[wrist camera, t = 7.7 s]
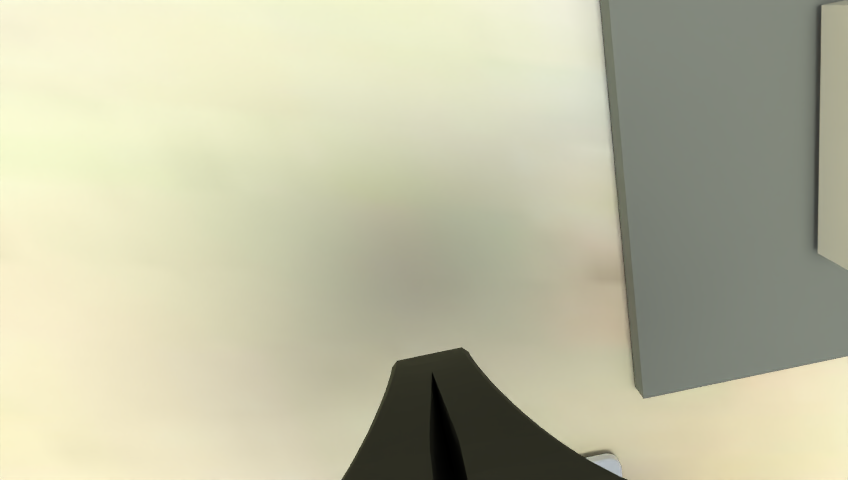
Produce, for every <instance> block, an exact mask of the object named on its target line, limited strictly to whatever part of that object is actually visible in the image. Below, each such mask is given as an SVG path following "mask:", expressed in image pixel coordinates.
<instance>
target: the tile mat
mask: <svg viewBox="0 0 848 480" xmlns="http://www.w3.org/2000/svg"><path fill="white" fill-rule="evenodd" d="M839 1H844V0H600V7H601V18H602V29H603V40H604V51H605V62H606V73H607V83H608V94H609V105H610V116H611V127H612V138H613V148H614V159H615V170H616V181H617V192H618V203H619V214H620V224H621V235H622V246H623V257H624V268H625V279H626V290H627V300H628V311H629V322H630V333H631V344H632V355H633V365H634V376H635V387H636V388H637V390H638V391H639V393H640V394H641V395H642V397H643V398H649V397H654V396H659V395H664V394H668V393H673V392H678V391H683V390H688V389H692V388H697V387H702V386H707V385H712V384H716V383H721V382H726V381H731V380H736V379H740V378H745V377H750V376H755V375H760V374H764V373H769V372H774V371H779V370H784V369H788V368H793V367H798V366H803V365H807V364H812V363H817V362H822V361H827V360H831V359H836V358H841V357H846V356H848V270H847V269H845V268H843V267H841V266H840V265H838V264H836V263H834V262H832V261H831V260H829V259H827V258H825V257H823V256H822V255H820V254H818V195H819V132H820V69H821V7H822V5H824V4H829V3H834V2H839Z"/></svg>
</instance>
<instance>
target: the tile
mask: <svg viewBox="0 0 848 480" xmlns="http://www.w3.org/2000/svg"><path fill="white" fill-rule="evenodd" d="M818 254H820V255H822V256H823V257H825V258H827V259H829V260H831V261H832V262H834V263H836V264H838V265H840V266H841V267H843V268H845V269H847V270H848V0H844V1H839V2H834V3H829V4H824V5H822V7H821V69H820V132H819V195H818Z"/></svg>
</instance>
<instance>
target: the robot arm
mask: <svg viewBox="0 0 848 480" xmlns="http://www.w3.org/2000/svg"><path fill="white" fill-rule="evenodd" d="M342 480H627V479H624V478H622V468H621V464H620V462H619V460H618V458H617V457H616V456H615V455H613V454H601V455H596V456H591V457H587V458H585V457H583V456H581V455H580V454H578V453H576V452H575V451H573V450H572V449H570V448H569V447H567V446H566V445H564V444H563V443H561V442H560V441H558V440H557V439H556V438H554V437H553V436H552V435H550V434H549V433H548V432H546V431H545V430H544V429H542V428H541V427H540V426H539V425H537V424H536V423H535V422H534V421H533V420H531V419H530V418H529V417H528V416H526V415H525V414H524V413H523V412H522V411H521V410H520V409H519V408H517V407H516V406H515V405H514V404H513V403H512V402H511V401H510V400H509V399H508V398H507V397H506V396H505V395H504V394H503V393H502V392H501V391H500V390H499V389H498V388H497V387H496V386H495V385H494V384H493V383H492V382H491V381H490V380H489V379H488V377H487V376H486V375H485V374H484V373H483V372H482V370H481V369H480V368H479V367H478V365H477V364H476V363H475V361H474V360H473V359H472V357H471V356H470V354H469V352H468V351H466V350H465V349H463V348H462V347H461V348H457V349H452V350H447V351H442V352H437V353H433V354H428V355H423V356H418V357H414V358H409V359H404V360H399V361H397V362H396V363H395V365H394V366H393V367H392V371H391V375H390V379H389V382H388V385H387V388H386V391H385V394H384V396H383V399H382V402H381V404H380V406H379V409H378V411H377V413H376V416H375V418H374V420H373V422H372V425H371V427H370V429H369V431H368V433H367V435H366V437H365V439H364V441H363V443H362V445H361V447H360V448H359V450H358V452H357V454H356V456H355V458H354V460H353V462H352V463H351V465H350V467H349V468H348V470H347V472H346V473H345V475H344V477H343V478H342Z"/></svg>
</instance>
